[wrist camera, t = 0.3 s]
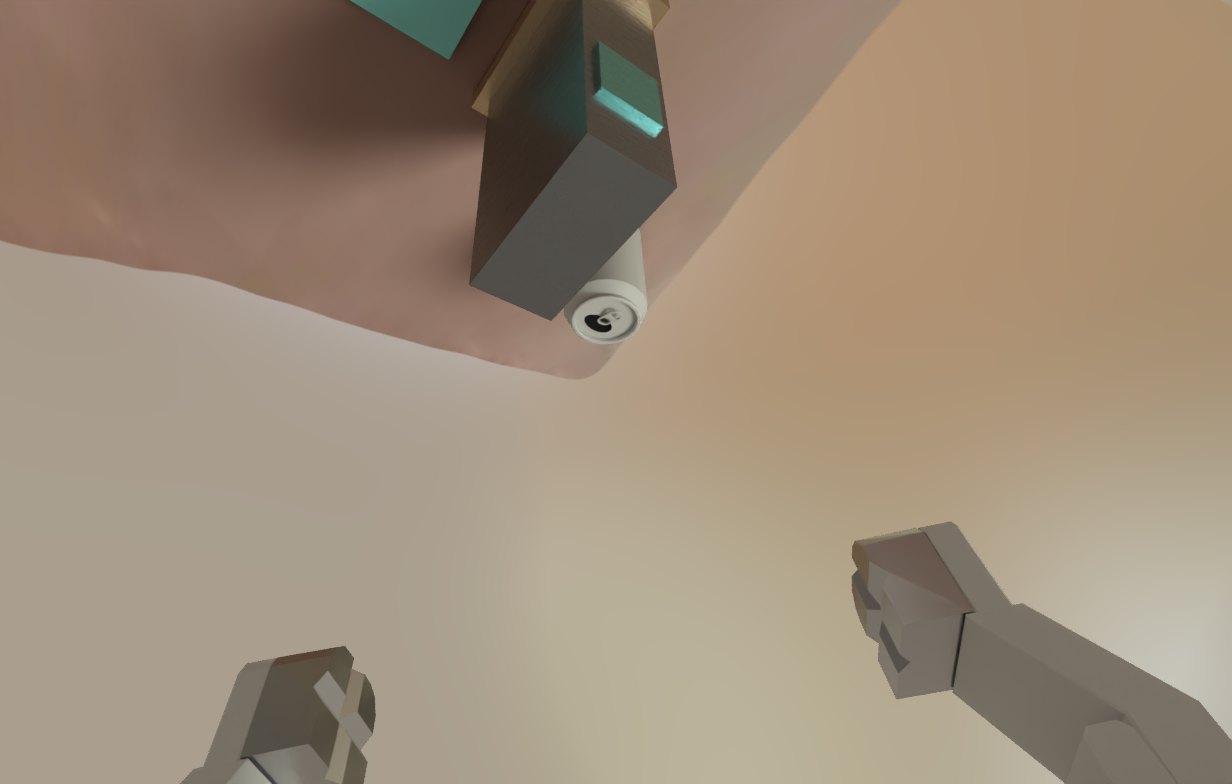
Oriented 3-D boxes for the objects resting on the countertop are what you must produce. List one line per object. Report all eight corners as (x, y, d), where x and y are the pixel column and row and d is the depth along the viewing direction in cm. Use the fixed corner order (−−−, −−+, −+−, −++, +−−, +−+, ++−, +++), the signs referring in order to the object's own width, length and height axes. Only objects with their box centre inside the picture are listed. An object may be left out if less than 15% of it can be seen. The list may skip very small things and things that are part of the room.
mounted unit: (576, -77, 49) (581, 107, 35) (667, -6, 53) (702, 183, 39) (473, 93, 58) (447, 288, 45) (556, 142, 62) (555, 334, 49)
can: (547, 233, 70) (545, 325, 63) (600, 187, 66) (605, 280, 59) (602, 271, 74) (606, 361, 67) (655, 230, 70) (666, 321, 63)
